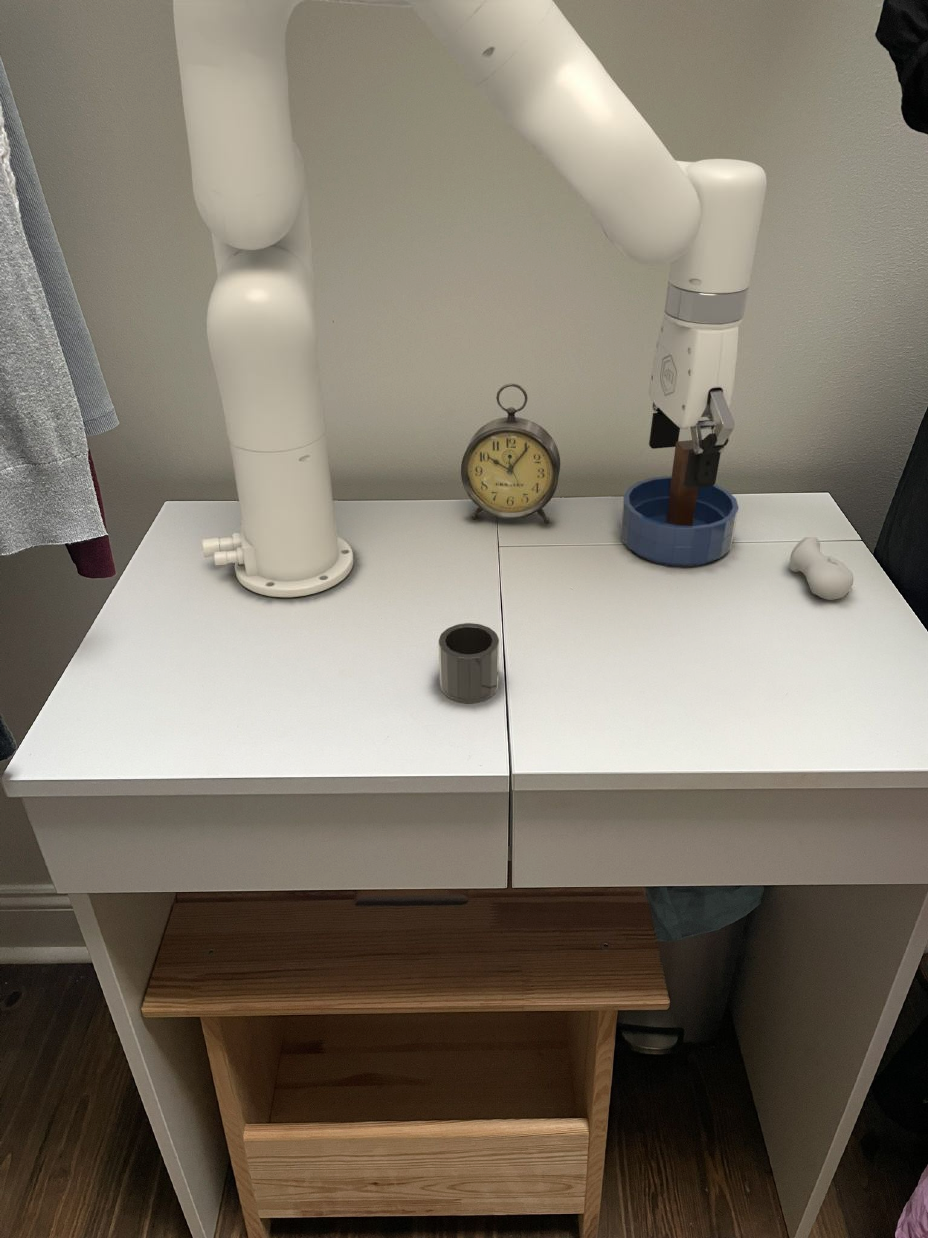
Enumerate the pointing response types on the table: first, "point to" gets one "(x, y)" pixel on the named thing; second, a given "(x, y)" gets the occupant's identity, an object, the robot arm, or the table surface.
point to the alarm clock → (511, 466)
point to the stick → (681, 489)
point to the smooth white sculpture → (821, 570)
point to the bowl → (675, 542)
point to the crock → (469, 662)
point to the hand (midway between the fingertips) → (680, 465)
